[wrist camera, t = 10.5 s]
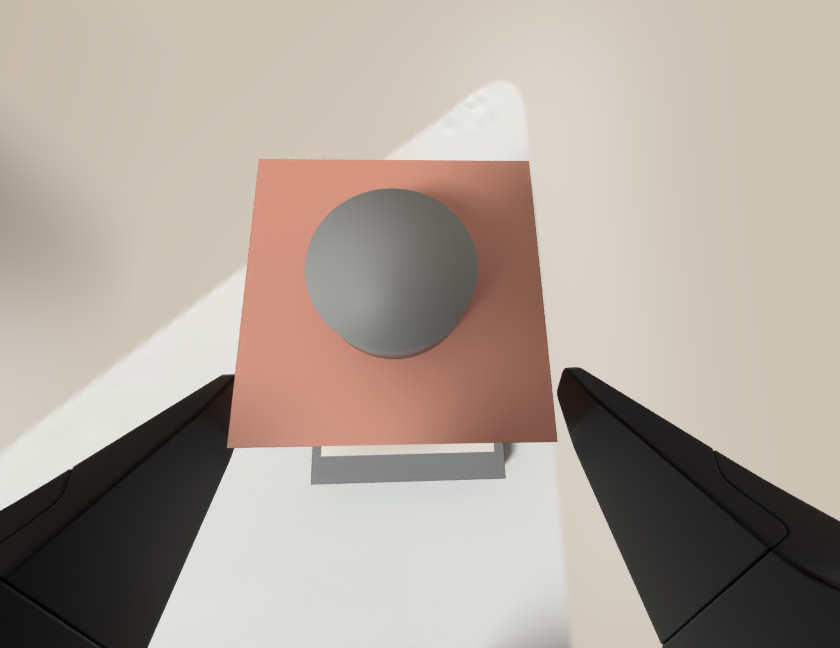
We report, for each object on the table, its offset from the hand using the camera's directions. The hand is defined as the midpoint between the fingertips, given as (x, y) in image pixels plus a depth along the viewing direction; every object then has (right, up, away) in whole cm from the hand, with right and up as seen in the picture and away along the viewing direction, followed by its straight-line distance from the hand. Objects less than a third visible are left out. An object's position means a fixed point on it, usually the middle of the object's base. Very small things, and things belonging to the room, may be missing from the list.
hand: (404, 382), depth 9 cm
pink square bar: (0, -1, +9) cm, 9 cm away
